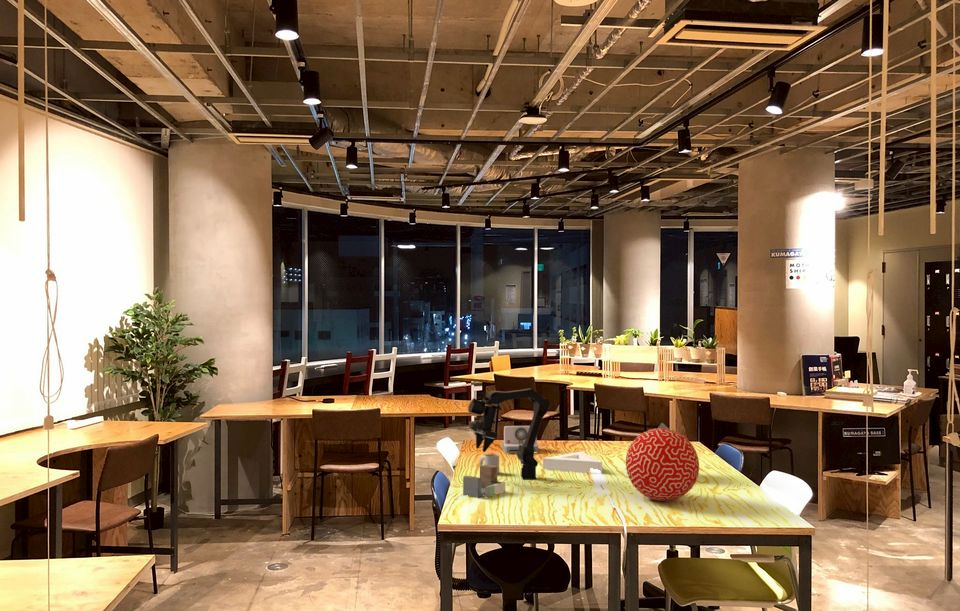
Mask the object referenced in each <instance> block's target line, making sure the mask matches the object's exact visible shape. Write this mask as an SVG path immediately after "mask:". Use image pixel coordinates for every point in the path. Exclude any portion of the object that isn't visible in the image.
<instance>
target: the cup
mask: <svg viewBox="0 0 960 611" xmlns="http://www.w3.org/2000/svg"><path fill="white" fill-rule="evenodd" d="M483 462H484V464H483ZM478 465H479V467H480V466H483V465H492V466H497V475H499V474H500V455H499V454H498V453H497V454H495V453H487V454H484V456H482V457H481V458H480V459H479V464H478ZM498 473H499V474H498Z"/></svg>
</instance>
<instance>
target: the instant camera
mask: <svg viewBox="0 0 960 611" xmlns="http://www.w3.org/2000/svg"><path fill="white" fill-rule="evenodd" d="M529 427H530V425H505V426H504V427H503V442H502V443H501V448H502V449H503V450H504V451H505V453H517V451H518V448H519V445H523V444H524V442H525V440H526V437H527V433H528V430H529ZM537 438H538V436H537V437H536V440H535V443H534V452H538V453H539V444H538V439H537ZM502 449H501V450H502ZM505 453H504V454H505Z"/></svg>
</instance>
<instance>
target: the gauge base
mask: <svg viewBox="0 0 960 611" xmlns="http://www.w3.org/2000/svg"><path fill="white" fill-rule="evenodd" d="M500 482H501V483H497V484H494V485H490V486H487V487H485V488H484V487H481V496H482V497H484V498H485V497H488V498H490V497H489V496H491V497H493V496H492V495H494V496H496V495H495V494H497V493H500V494H502V493H501V492H503V493H505V492H506V481H500ZM504 491H505V492H504ZM483 495H485V496H483ZM497 495H498V494H497Z"/></svg>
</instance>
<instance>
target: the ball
mask: <svg viewBox="0 0 960 611" xmlns="http://www.w3.org/2000/svg"><path fill="white" fill-rule="evenodd" d="M625 456H626V457H625V470H626V473H627V477H628V478H629V479H630V482H631V484H632V486H633V487H634V488H635V490H637V491H638V492H639V493H640V494H642V495H644V496H645V497H647V498H648V499H650V500H651V499H652V500H655V501H659V502H668V501H674V500H677V499H679V498H682V497H683V496H685V495H686V494H687V493H689V492H690V491H691V490H692V489H693V487H694V485H695V484H696V483H697V480H698V476H699V472H700V461H699V455H698V453H697V451H696V448H695V447H694V445H693V444H692V442H691V441H690V440H689V439H688V438H687V437H685V436H684V435H683V434H681V433H680V432H678V431H675V430H674V429H670V428H669V429H664V428H658V427H657V428H656V427H655V428H651V429H648V430H647V431H644V432H642V433H640V434H639V435H638V436H636V437H635V438H634V440H633V441H632V443H631V444H630V446H629V447H628V449H627V452H626V455H625Z"/></svg>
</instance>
